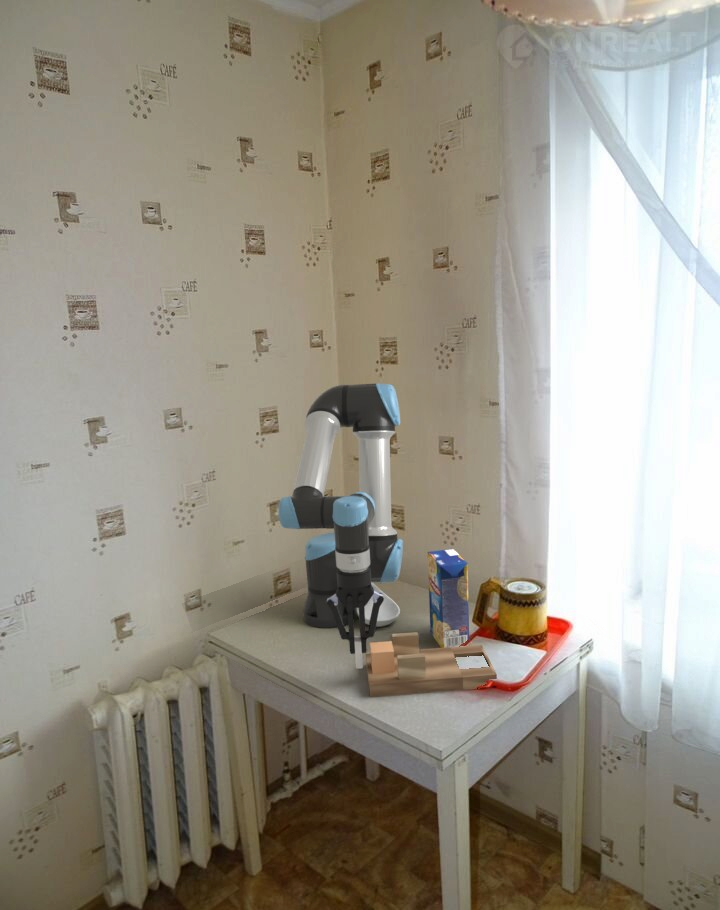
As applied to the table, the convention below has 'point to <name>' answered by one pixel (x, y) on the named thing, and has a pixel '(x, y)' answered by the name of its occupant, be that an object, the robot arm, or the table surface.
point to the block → (382, 657)
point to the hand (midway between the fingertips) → (359, 665)
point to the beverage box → (448, 597)
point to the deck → (427, 669)
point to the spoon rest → (382, 609)
